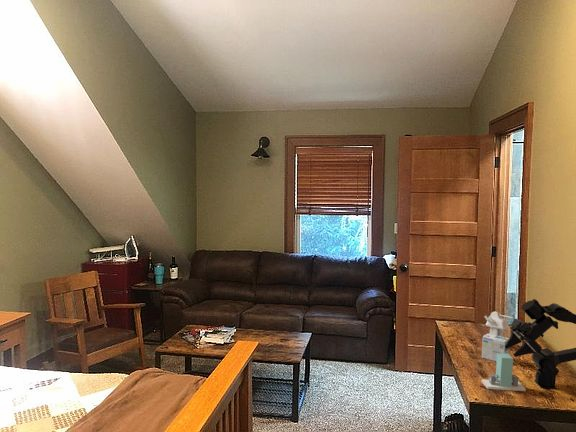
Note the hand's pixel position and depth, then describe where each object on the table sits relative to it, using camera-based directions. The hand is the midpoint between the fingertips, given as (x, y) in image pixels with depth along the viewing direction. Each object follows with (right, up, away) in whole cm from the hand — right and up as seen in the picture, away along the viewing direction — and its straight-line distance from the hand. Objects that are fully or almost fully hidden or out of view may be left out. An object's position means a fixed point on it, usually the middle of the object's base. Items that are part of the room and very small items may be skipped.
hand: (509, 351), depth 194 cm
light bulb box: (+6, -12, +28) cm, 31 cm away
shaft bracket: (-4, -14, -2) cm, 14 cm away
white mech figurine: (+14, -11, +44) cm, 47 cm away
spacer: (-4, -13, -2) cm, 13 cm away
